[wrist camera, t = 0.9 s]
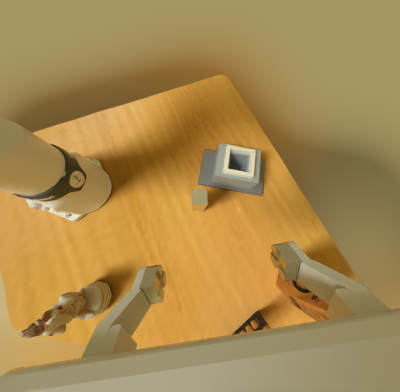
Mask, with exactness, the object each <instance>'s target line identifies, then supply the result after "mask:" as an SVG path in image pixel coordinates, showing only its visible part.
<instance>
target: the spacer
mask: <svg viewBox="0 0 400 392" xmlns="http://www.w3.org/2000/svg"><path fill="white" fill-rule="evenodd" d="M230 151H232V152H238V153H243V154H248V155H250V163H249V172H244V171H238V170H233V169H228V163H229V155H230ZM255 154H256V150H253V149H248V148H242V147H237V146H231V145H227V146H226V152H225V159H224V166H223V173H224V174H229V175H235V176H240V177H246V178H251V179H252V178H253V177H254V167H255Z"/></svg>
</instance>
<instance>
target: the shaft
mask: <svg viewBox="0 0 400 392" xmlns="http://www.w3.org/2000/svg"><path fill="white" fill-rule="evenodd" d="M207 205H208V201H207V190H200V189H192V211H204V210H205V208H206V206H207Z"/></svg>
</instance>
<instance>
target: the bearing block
mask: <svg viewBox="0 0 400 392" xmlns="http://www.w3.org/2000/svg"><path fill="white" fill-rule="evenodd" d="M227 145H229V144H223V143H219V146H218V150H217V151H212V150H207V149H204V154H203V160H202V165H201V171H200V176H199V182H198V185H203V186H209V187H214V188H220V189H226V190H231V191H237V192H242V193H248V194H254V195H259V196H261V195H262V193H263V177H264V160H261V150H256V149H253V150H256V154H255V167H254V177H253V178H252V179H251V178H246V177H240V176H235V175H229V174H224V173H223V166H224V159H225V152H226V146H227ZM231 146H234V145H231ZM237 147H239V146H237ZM242 148H245V147H242ZM248 149H250V148H248ZM249 163H250V155H248V154H243V153H238V152H232V151H230V155H229V163H228V169H233V170H238V171H244V172H249Z"/></svg>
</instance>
